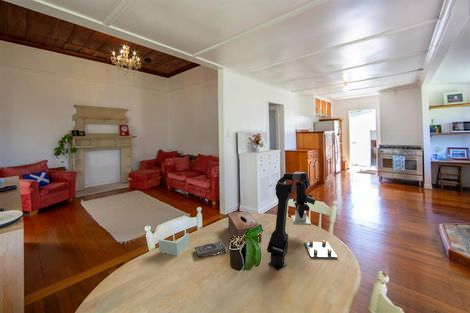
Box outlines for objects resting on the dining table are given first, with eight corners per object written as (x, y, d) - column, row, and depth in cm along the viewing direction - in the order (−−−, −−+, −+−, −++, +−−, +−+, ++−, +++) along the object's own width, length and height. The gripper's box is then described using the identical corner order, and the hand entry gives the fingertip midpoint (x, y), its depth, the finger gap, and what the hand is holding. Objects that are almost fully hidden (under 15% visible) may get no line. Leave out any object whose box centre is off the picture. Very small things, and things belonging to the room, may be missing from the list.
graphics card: (221, 237, 128) (227, 246, 117) (221, 243, 129) (228, 253, 117) (193, 243, 122) (197, 253, 111) (193, 249, 123) (197, 260, 112)
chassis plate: (337, 258, 108) (337, 253, 108) (311, 258, 109) (311, 252, 109) (327, 243, 123) (327, 238, 123) (304, 243, 124) (304, 238, 124)
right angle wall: (189, 245, 127) (188, 233, 126) (177, 256, 115) (176, 243, 115) (172, 242, 131) (171, 230, 130) (159, 252, 119) (158, 240, 119)
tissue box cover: (261, 242, 128) (261, 226, 127) (238, 245, 124) (237, 229, 123) (248, 224, 153) (247, 211, 152) (228, 227, 149) (228, 213, 148)
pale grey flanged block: (311, 225, 125) (311, 215, 124) (293, 224, 127) (293, 214, 126) (307, 217, 137) (307, 208, 136) (291, 216, 138) (291, 207, 138)
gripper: (318, 196, 120) (318, 223, 121) (310, 188, 138) (310, 211, 140) (298, 196, 121) (298, 223, 123) (292, 188, 139) (292, 211, 141)
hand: (300, 216), depth 131 cm, fingers closed on pale grey flanged block, 4 cm apart
